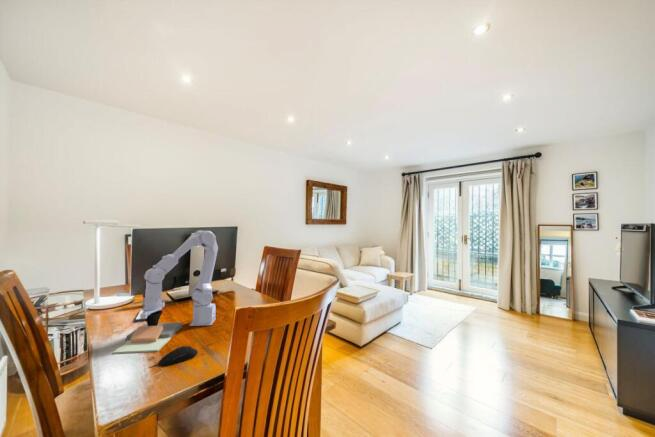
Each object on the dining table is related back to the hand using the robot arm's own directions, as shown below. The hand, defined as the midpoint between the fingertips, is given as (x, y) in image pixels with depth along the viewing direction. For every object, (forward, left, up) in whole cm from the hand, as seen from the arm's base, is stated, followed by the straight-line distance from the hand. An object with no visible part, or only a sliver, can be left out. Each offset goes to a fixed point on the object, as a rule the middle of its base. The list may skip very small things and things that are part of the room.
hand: (152, 329), depth 104 cm
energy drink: (+23, -41, -3) cm, 47 cm away
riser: (0, -3, -3) cm, 4 cm away
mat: (-1, +8, -3) cm, 9 cm away
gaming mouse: (-17, +20, -3) cm, 26 cm away
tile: (0, +3, -1) cm, 4 cm away
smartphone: (+15, -25, -3) cm, 29 cm away
